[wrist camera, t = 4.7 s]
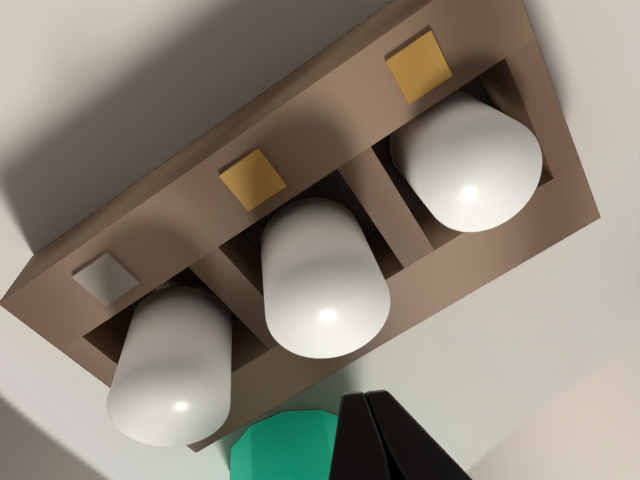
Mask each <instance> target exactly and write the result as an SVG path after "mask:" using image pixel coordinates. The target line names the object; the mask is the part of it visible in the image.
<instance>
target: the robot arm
mask: <svg viewBox="0 0 640 480" xmlns="http://www.w3.org/2000/svg"><path fill="white" fill-rule="evenodd" d="M328 480H472V479H471V478H470V477H469V476H468V475H467V473H466V472H465V471H464V470H463V469H462V468H461V467H460V466H459V465H458V464H457V463H456V462H455V461H454V460H453V459H452V458H451V457H450V456H449V455H448V454H447V453H446V451H445V450H444V449H443V448H442V447H441V446H440V445H439V444H438V443H437V442H436V441H435V440H434V439H433V438H432V437H431V436H430V435H429V434H428V433H427V432H426V431H425V429H424V428H423V427H422V426H421V425H420V424H419V423H418V422H417V421H416V420H415V419H414V418H413V417H412V416H411V415H410V414H409V413H408V412H407V411H406V410H405V409H404V407H403V406H402V405H401V404H400V403H399V402H398V401H397V400H396V399H395V398H394V397H393V396H392V395H391V394H390V393H389V392H388V391H386V390H377V391H368V392H366V393H365V394H364V393H363V392H351V393H344V394H343V395H342V397H341V403H340V409H339V416H338V422H337V428H336V434H335V440H334V446H333V452H332V458H331V465H330V471H329V477H328Z"/></svg>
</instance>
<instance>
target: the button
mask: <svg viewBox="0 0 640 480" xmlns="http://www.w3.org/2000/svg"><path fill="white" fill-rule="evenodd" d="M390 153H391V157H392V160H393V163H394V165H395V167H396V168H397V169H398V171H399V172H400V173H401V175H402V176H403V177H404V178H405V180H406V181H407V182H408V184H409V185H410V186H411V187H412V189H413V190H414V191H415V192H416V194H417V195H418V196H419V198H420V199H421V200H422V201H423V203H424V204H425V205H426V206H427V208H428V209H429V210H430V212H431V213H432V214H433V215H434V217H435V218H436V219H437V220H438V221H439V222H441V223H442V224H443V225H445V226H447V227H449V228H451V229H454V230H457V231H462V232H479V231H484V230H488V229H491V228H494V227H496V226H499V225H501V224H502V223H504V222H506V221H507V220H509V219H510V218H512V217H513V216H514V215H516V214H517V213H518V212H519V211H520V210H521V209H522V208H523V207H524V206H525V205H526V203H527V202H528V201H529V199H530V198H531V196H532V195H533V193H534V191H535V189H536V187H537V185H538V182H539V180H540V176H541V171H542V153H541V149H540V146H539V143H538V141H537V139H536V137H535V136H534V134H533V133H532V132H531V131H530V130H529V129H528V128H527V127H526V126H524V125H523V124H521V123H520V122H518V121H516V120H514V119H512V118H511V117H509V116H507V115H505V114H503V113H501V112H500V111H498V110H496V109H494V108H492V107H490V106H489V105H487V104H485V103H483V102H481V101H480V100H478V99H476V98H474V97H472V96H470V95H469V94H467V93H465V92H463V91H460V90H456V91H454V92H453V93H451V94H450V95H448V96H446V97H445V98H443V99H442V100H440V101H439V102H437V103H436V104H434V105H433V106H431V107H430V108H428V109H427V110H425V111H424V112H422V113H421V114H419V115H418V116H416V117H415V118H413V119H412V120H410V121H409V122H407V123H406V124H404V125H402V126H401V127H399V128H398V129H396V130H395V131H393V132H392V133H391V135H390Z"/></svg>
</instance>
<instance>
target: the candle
mask: <svg viewBox="0 0 640 480" xmlns="http://www.w3.org/2000/svg"><path fill="white" fill-rule="evenodd" d="M337 422H338V416H336V415H334V414H332V413H329V412H327V411H324V410H296V411H283V412H281V413H279V414H276V415H274V416H272V417H269V418H267V419H265V420H262V421H260V422H258V423H255V424H253V425H251V426H250V427H249V428H248V429H247V430H246V432H245V433H244V434H243V435H242V436H241V437H240V438H239V440H238V441H237V442H236V443H235V444H234V445H233V447H232V448H231V456H230V480H328V477H329V471H330V465H331V458H332V452H333V446H334V440H335V434H336V428H337Z"/></svg>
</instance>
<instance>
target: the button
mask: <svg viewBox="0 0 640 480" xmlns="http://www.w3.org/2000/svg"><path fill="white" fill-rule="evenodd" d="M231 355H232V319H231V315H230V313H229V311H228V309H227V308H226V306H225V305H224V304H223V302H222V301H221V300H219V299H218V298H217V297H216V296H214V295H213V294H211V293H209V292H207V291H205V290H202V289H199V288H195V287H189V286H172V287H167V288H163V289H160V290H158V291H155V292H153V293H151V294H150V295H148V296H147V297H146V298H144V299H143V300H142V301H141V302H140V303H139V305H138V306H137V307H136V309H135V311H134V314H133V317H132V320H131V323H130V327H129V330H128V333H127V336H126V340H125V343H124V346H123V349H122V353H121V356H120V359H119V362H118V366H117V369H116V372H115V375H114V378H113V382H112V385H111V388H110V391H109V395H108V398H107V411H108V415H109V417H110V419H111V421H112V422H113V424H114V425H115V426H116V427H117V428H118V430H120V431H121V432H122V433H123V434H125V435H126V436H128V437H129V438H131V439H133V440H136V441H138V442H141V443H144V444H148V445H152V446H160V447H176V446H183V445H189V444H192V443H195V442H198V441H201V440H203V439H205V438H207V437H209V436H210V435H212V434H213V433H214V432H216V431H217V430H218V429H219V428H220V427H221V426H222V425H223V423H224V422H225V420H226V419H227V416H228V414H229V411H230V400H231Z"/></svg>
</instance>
